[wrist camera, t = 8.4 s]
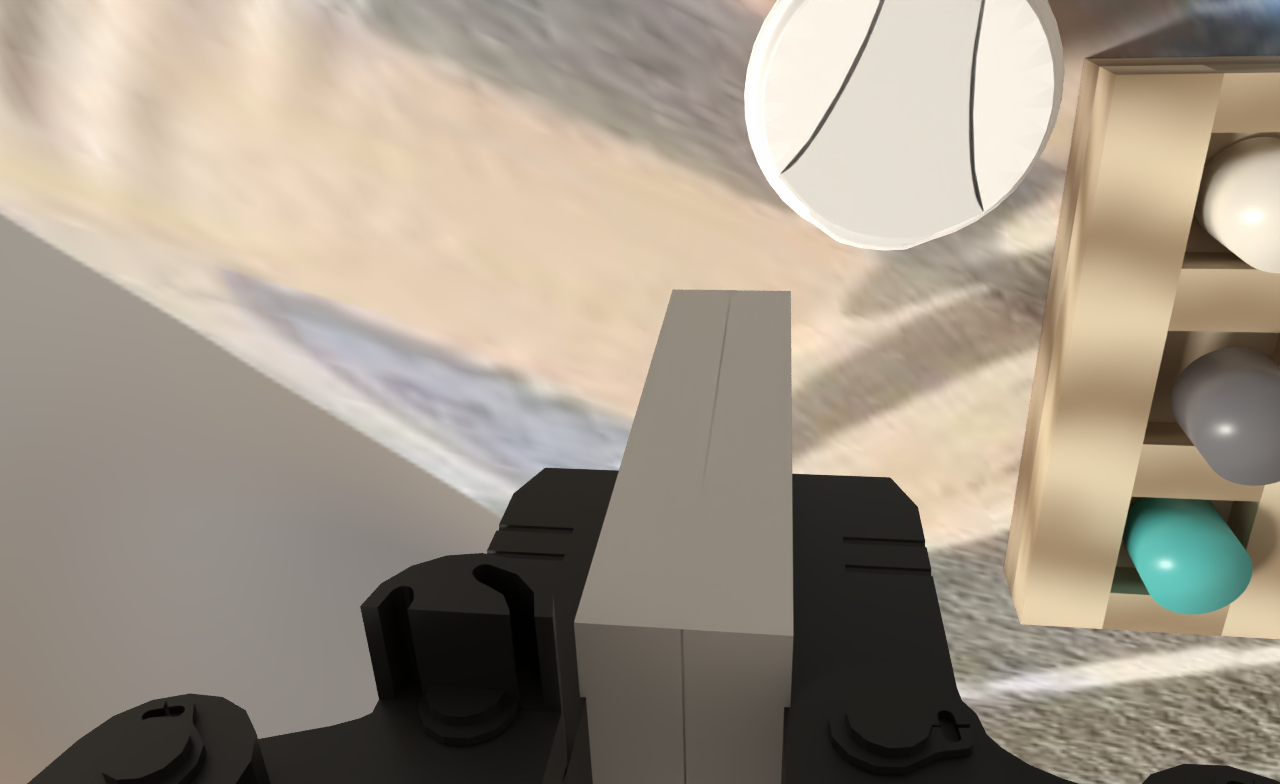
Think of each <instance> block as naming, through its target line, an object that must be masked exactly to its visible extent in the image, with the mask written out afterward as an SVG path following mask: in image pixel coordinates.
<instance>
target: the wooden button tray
mask: <svg viewBox="0 0 1280 784" xmlns="http://www.w3.org/2000/svg"><path fill="white" fill-rule="evenodd" d="M1255 137H1274V138H1279V139H1280V55H1271V56H1213V57H1155V58H1097V59H1085V61H1084V67H1083V73H1082V80H1081V86H1080V92H1079V99H1078V105H1077V111H1076V118H1075V124H1074V130H1073V136H1072V143H1071V149H1070V155H1069V162H1068V168H1067V174H1066V181H1065V187H1064V193H1063V200H1062V206H1061V212H1060V218H1059V225H1058V231H1057V237H1056V244H1055V250H1054V256H1053V263H1052V269H1051V275H1050V282H1049V288H1048V294H1047V301H1046V307H1045V313H1044V319H1043V326H1042V332H1041V338H1040V345H1039V351H1038V357H1037V364H1036V370H1035V376H1034V383H1033V389H1032V395H1031V401H1030V408H1029V414H1028V420H1027V427H1026V433H1025V439H1024V446H1023V452H1022V458H1021V465H1020V471H1019V477H1018V483H1017V490H1016V496H1015V502H1014V509H1013V515H1012V521H1011V528H1010V534H1009V540H1008V547H1007V553H1006V559H1005V566H1004V574H1005V577H1006V580H1007V583H1008V586H1009V589H1010V592H1011V595H1012V598H1013V601H1014V604H1015V607H1016V611H1017V614H1018V617H1019V620H1020V623H1021V624H1027V625H1045V626H1062V627H1079V628H1097V629H1114V630H1131V631H1149V632H1166V633H1183V634H1201V635H1218V636H1235V637H1253V638H1270V639H1280V481H1279V482H1276V483H1272V484H1268V485H1260V486H1249V485H1241V484H1236V483H1233V482H1230V481H1228V480H1226V479H1224V478H1222V477H1221V476H1219V475H1218V474H1217V473H1216V472H1215V471H1213V469H1212V468H1211V467H1210V466H1209V464H1208V463H1207V462H1206V460H1205V459H1204V458H1203V456H1202V455H1201V454H1200V452H1199V451H1198V450H1197V448H1196V447H1195V446H1194V444H1193V443H1192V442H1191V440H1190V439H1189V438H1188V436H1187V435H1186V434H1185V432H1184V431H1183V430H1182V428H1181V427H1180V426H1179V424H1178V423H1177V422H1176V420H1175V418H1174V417H1173V414H1172V411H1171V407H1170V396H1171V391H1172V388H1173V385H1174V383H1175V381H1176V380H1177V378H1178V376H1179V375H1180V374H1181V373H1182V371H1183V370H1184V369H1185V368H1186V367H1187V366H1188V365H1189V364H1191V363H1192V362H1193V361H1195V360H1196V359H1198V358H1199V357H1201V356H1203V355H1205V354H1207V353H1210V352H1212V351H1215V350H1219V349H1223V348H1230V347H1241V348H1249V349H1253V350H1256V351H1259V352H1261V353H1263V354H1265V355H1266V356H1268V357H1269V358H1270V359H1271V360H1272V361H1273V362H1274V363H1276V364H1277V365H1278V366H1279V367H1280V273H1269V272H1264V271H1261V270H1258V269H1256V268H1254V267H1252V266H1250V265H1249V264H1247V263H1246V262H1244V261H1243V260H1242V259H1241V258H1239V257H1238V256H1237V255H1235V254H1234V253H1233V252H1232V251H1230V250H1229V249H1228V248H1227V247H1225V246H1224V245H1223V244H1221V243H1220V242H1219V241H1218V240H1216V239H1215V238H1214V237H1212V236H1211V235H1210V234H1209V233H1207V232H1206V231H1205V230H1204V229H1203V228H1202V227H1201V225H1200V224H1199V222H1198V221H1197V219H1196V216H1195V213H1194V209H1195V205H1196V200H1197V196H1198V191H1199V187H1200V182H1201V177H1202V173H1203V170H1204V168H1205V167H1206V166H1207V164H1208V163H1209V162H1210V161H1211V160H1212V159H1213V158H1214V157H1215V156H1216V155H1217V154H1219V153H1220V152H1221V151H1223V150H1224V149H1226V148H1227V147H1229V146H1231V145H1233V144H1235V143H1238V142H1240V141H1243V140H1246V139H1250V138H1255ZM1143 497H1154V498H1179V499H1204V500H1210V501H1211V503H1212V504H1213V505H1214V506H1215V508H1216V509H1217V511H1218V512H1219V513H1220V515H1221V516H1222V518H1223V519H1224V520H1225V522H1226V523H1227V525H1228V526H1229V528H1230V529H1231V530H1232V532H1233V533H1234V535H1235V536H1236V537H1237V539H1238V540H1239V542H1240V543H1241V544H1242V546H1243V547H1244V549H1245V550H1246V552H1247V553H1248V555H1249V557H1250V559H1251V562H1252V567H1253V569H1252V577H1251V580H1250V583H1249V585H1248V586H1247V588H1246V590H1245V591H1244V592H1243V593H1242V594H1241V595H1240V596H1239V597H1238V598H1237V599H1236V600H1235V601H1234V602H1232V603H1230V604H1229V605H1227V606H1225V607H1223V608H1221V609H1219V610H1216V611H1213V612H1209V613H1204V614H1195V615H1194V614H1180V613H1176V612H1173V611H1170V610H1167V609H1165V608H1163V607H1162V606H1160V605H1159V604H1158V603H1157V602H1155V601H1154V599H1153V598H1152V597H1151V595H1150V594H1149V592H1148V590H1147V588H1146V586H1145V584H1144V582H1143V581H1142V579H1141V577H1140V575H1139V573H1138V571H1137V569H1136V567H1135V565H1134V563H1133V561H1132V560H1131V558H1130V556H1129V554H1128V552H1127V550H1126V548H1125V546H1124V544H1123V542H1122V536H1123V532H1124V527H1125V523H1126V518H1127V514H1128V510H1129V509H1130V508H1131V506H1133V505H1134V504H1135V503H1136V502H1137V501H1139V500H1140V499H1141V498H1143Z"/></svg>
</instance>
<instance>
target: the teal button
mask: <svg viewBox="0 0 1280 784" xmlns="http://www.w3.org/2000/svg"><path fill="white" fill-rule="evenodd" d="M1122 542H1123V544H1124V546H1125V548H1126V550H1127V552H1128V554H1129V556H1130V558H1131V560H1132V561H1133V563H1134V565H1135V567H1136V569H1137V571H1138V573H1139V575H1140V577H1141V579H1142V581H1143V582H1144V584H1145V586H1146V588H1147V590H1148V592H1149V594H1150V595H1151V597H1152V598H1153V599H1154V601H1155V602H1157V603H1158V604H1159V605H1160V606H1162V607H1163V608H1165V609H1167V610H1170V611H1173V612H1176V613H1180V614H1194V615H1195V614H1204V613H1209V612H1213V611H1216V610H1219V609H1221V608H1223V607H1225V606H1227V605H1229V604H1230V603H1232V602H1234V601H1235V600H1236V599H1237V598H1238V597H1239V596H1240V595H1241V594H1242V593H1243V592H1244V591H1245V590H1246V588H1247V586H1248V585H1249V583H1250V580H1251V577H1252V569H1253V567H1252V562H1251V559H1250V557H1249V555H1248V553H1247V552H1246V550H1245V549H1244V547H1243V546H1242V544H1241V543H1240V542H1239V540H1238V539H1237V537H1236V536H1235V535H1234V533H1233V532H1232V530H1231V529H1230V528H1229V526H1228V525H1227V523H1226V522H1225V520H1224V519H1223V518H1222V516H1221V515H1220V513H1219V512H1218V511H1217V509H1216V508H1215V506H1214V505H1213V504H1212V503H1211V501H1210V500H1204V499H1179V498H1154V497H1143V498H1141V499H1140V500H1139V501H1137V502H1136V503H1135V504H1134V505H1133V506H1131V508H1130V509H1129V510H1128V514H1127V518H1126V523H1125V527H1124V532H1123V536H1122Z"/></svg>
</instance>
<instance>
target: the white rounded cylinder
mask: <svg viewBox="0 0 1280 784" xmlns="http://www.w3.org/2000/svg"><path fill="white" fill-rule="evenodd" d="M1194 213H1195V216H1196V219H1197V221H1198V222H1199V224H1200V225H1201V227H1202V228H1203V229H1204V230H1205V231H1206V232H1207V233H1209V234H1210V235H1211V236H1212V237H1214V238H1215V239H1216V240H1218V241H1219V242H1220V243H1221V244H1223V245H1224V246H1225V247H1227V248H1228V249H1229V250H1230V251H1232V252H1233V253H1234V254H1235V255H1237V256H1238V257H1239V258H1241V259H1242V260H1243V261H1244V262H1246V263H1247V264H1249V265H1250V266H1252V267H1254V268H1256V269H1258V270H1261V271H1264V272H1269V273H1280V139H1279V138H1274V137H1255V138H1250V139H1246V140H1243V141H1240V142H1238V143H1235V144H1233V145H1231V146H1229V147H1227V148H1226V149H1224V150H1223V151H1221V152H1220V153H1219V154H1217V155H1216V156H1215V157H1214V158H1213V159H1212V160H1211V161H1210V162H1209V163H1208V164H1207V166H1206V167H1205V168H1204V170H1203V173H1202V177H1201V182H1200V187H1199V191H1198V196H1197V200H1196V205H1195V209H1194Z"/></svg>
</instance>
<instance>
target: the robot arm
mask: <svg viewBox="0 0 1280 784" xmlns="http://www.w3.org/2000/svg"><path fill="white" fill-rule="evenodd" d="M360 607H361V612H362V617H363V622H364V626H365V632H366V637H367V642H368V647H369V652H370V656H371V661H372V666H373V671H374V676H375V681H376V686H377V691H378V696H379V701H378V703H377V705H376V706H375V708H374V711H373V712H372V713H371V714H369V715H366V716H364V717H362V718H359V719H356V720H352V721H348V722H344V723H341V724H337V725H333V726H329V727H324V728H318V729H312V730H306V731H301V732H295V733H290V734H284V735H279V736H273V737H268V738H262V739H258V738H257V734H256V731H255V729H254V727H253V725H252V723H251V721H250V719H249V716H248V714H247V712H246V710H244V709H242V708H241V707H239V706H237V705H235V704H234V703H232V702H230V701H229V700H227V699H225V698H223V697H216V696H208V695H198V694H186V695H179V696H174V697H168V698H162V699H156V700H152V701H149V702H147V703H144V704H142V705H140V706H137V707H135V708H132V709H130V710H127V711H125V712H122V713H120V714H117V715H115V716H113V717H111V718H110V719H108V720H107V721H106V722H104V723H103V724H101V725H100V726H98V727H97V728H95V729H94V730H92V731H91V732H89V733H88V734H86V735H85V736H83V737H82V738H81V739H79V740H78V741H77V742H76V743H74V744H73V745H72V746H71V747H70V748H68V749H67V750H66V751H65V752H64V753H63V754H61V756H59V757H58V758H57V759H56V760H54V761H53V762H52V763H51V764H50V765H49V766H48V767H46V768H45V769H44V770H43V771H42V772H40V773H39V774H38V775H37V776H36V777H35V778H33V779H32V780H31V781H30V782H29V783H28V784H1078V783H1075V782H1071V781H1068V780H1065V779H1062V778H1060V777H1057V776H1055V775H1052V774H1050V773H1048V772H1045V771H1043V770H1040V769H1038V768H1035V767H1033V766H1031V765H1029V764H1027V763H1025V762H1024V761H1022V760H1021V759H1019V758H1017V757H1016V756H1014V755H1012V754H1011V753H1009V752H1008V751H1006V750H1004V749H1003V748H1001V747H1000V746H999V745H998V744H997V743H996V742H995V741H993V740H992V739H991V738H990V737H989V736H988V735H987V734H986V732H985V730H984V728H983V726H982V724H981V722H980V720H979V718H978V716H977V714H976V713H975V712H974V711H973V710H972V709H971V708H969V707H968V706H967V705H966V704H965V703H964V702H963V701H962V700H961V697H960V695H959V692H958V690H957V687H956V682H955V677H954V673H953V668H952V663H951V659H950V654H949V649H948V645H947V640H946V636H945V631H944V626H943V622H942V617H941V612H940V608H939V603H938V599H937V594H936V589H935V585H934V580H933V576H931V566H930V561H929V557H928V552H927V548H926V547H925V538H924V534H923V529H922V524H921V520H920V515H919V510H918V507H917V506H916V505H915V504H914V502H913V501H912V500H911V499H910V498H909V497H908V496H907V495H906V494H905V493H904V492H903V491H902V490H901V489H900V488H899V486H898V485H897V484H896V483H895V482H894V481H893V480H892V479H891V478H887V477H861V476H835V475H809V474H792V398H791V291H737V290H673V291H672V294H671V297H670V301H669V304H668V308H667V311H666V314H665V318H664V321H663V324H662V328H661V331H660V335H659V338H658V341H657V345H656V348H655V351H654V355H653V358H652V361H651V365H650V368H649V372H648V375H647V378H646V382H645V385H644V388H643V392H642V395H641V398H640V402H639V405H638V409H637V412H636V415H635V419H634V422H633V425H632V429H631V432H630V435H629V439H628V442H627V446H626V449H625V452H624V456H623V459H622V462H621V466H620V469H619V471H615V470H589V469H563V468H544V469H543V470H542V471H541V472H539V473H538V474H537V475H536V476H535V477H533V478H532V479H531V480H530V481H528V482H527V483H526V484H525V485H523V486H522V487H521V488H520V489H519V490H517V491H516V492H515V493H514V494H513V496H512V498H511V500H510V502H509V505H508V507H507V509H506V511H505V513H504V515H503V518H502V520H501V522H500V524H499V531H496V533H495V535H494V537H493V539H492V541H491V543H490V546H489V548H488V550H487V554H484V553H479V554H463V555H449V556H444V557H440V558H437V559H434V560H431V561H427V562H424V563H420V564H417V565H413V566H411V567H409V568H407V569H405V570H404V571H402V572H400V573H399V574H397V575H395V576H393V577H392V578H390V579H388V580H386V581H385V582H383V583H381V584H380V585H379V586H378V588H377V589H376V590H375V591H374V592H373V593H372V594H371V595H370V597H368V598H367V600H366V601H365V602H364V603H363V604H362V605H361V606H360ZM1142 784H1280V782H1278V781H1276V780H1273V779H1270V778H1267V777H1263V776H1260V775H1257V774H1253V773H1250V772H1247V771H1243V770H1240V769H1237V768H1233V767H1230V766H1221V765H1199V764H1182V765H1179V766H1176V767H1173V768H1170V769H1166V770H1163V771H1160V772H1157V773H1154V774H1151V775H1150V776H1149V777H1148V778H1147V779H1146V780H1145V781H1144V782H1143V783H1142Z"/></svg>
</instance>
